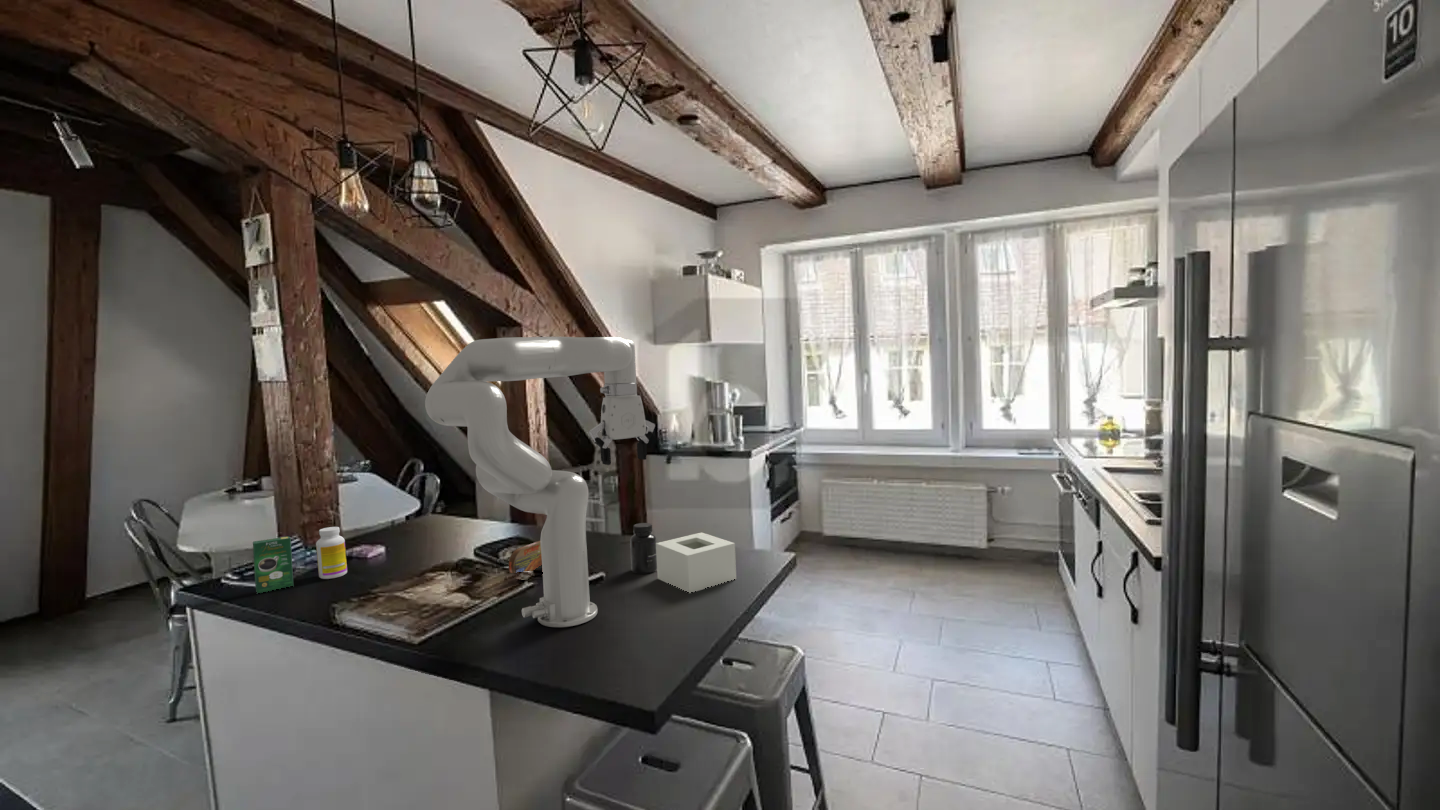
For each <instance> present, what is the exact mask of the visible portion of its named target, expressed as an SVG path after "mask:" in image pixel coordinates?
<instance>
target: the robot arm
mask: <svg viewBox="0 0 1440 810" xmlns="http://www.w3.org/2000/svg"><path fill="white" fill-rule="evenodd" d="M636 367H637V364H636V347H635V342H634V341H633V340H632V339H630V338H624V337H621V336H597V337H595V336H593V337H590V336H589V337H587V336H586V337H584V336H582V337H579V336H577V337H573V336H534V337H533V336H526V337H525V336H522V337H521V336H520V337H498V338H497V337H496V338H483V339H476V340H473V341H472V342H469V344H466V346H464V347H463V349H462V350H460V352H459V353H458V354H457V355H456V356H455V357H454V358H453V359H452V361H451V362H450V363H449V365H448V366H447V367H446V368H445V369H444V370H443V371H442V373H441V374H440V375H439V376H438V377H437V378H436V380H435V381H434V382H433V383H432V385H431V386H430V388H429V390H428V392H427V393H426V395H425V401H424V405H425V406H424V407H425V411H426V414H427V415H428V417H429V418H430V419H431V420H432V421H433V422H435V423H436V424H439V425H440V426H446V427H467V446H468V454H469V456H470V459H471V460H472V462H473V463H474V464H475V475H476V479H477V481H478V483H479V484H480V486H481V487H482V488H483V489H484V490H485V491H486V492H487V493H489V494H491V495H493V496H494V497H496V498H498V499H499V500H502V502H505V503H506V504H508V505H510V506H512V507H514V508H515V509H517V510H520V511H523V512H525V513H531V514H539V515H545V516H546V519H545V522H544V524H543V527H542V529H541V533H540V540H539V541H540V543H541V556H542V572H543V574H542V585H543V589H542V590H543V596H542V597H539V602H537V603H535V605H528V606H525V607H522V608H521V615H522V617H523V618H527V617H531V616H532V618H533V619H537V622H538V623H540V624H541V625H542V626H544V627H549V628H569V627H573V626H579V625H581V624H584V623H587V622H589V621H592V620H593V619H594V618H596V616H597V614H598V606H597V604H595V603H594V602H592V601H590V598H591V597H590V585H589V584H590V581H589V580H590V579H589V565H588V564H589V563H588V549H587V545H588V544H587V530H586V529H587V527H586V524H587V523H586V522H587V521H586V520H587V509H588V503H589V486H588V484H587V481H586V480H585V479H584V478H583V477H582V476H581V475H580V474H577V473H575V472H572V471H567V470H555V469H552V466H551V464H550V462H549V461H548V459H547V458H546V457H545V456H544V455H542V453H540V452H538V451H537V450H535V449H534V448H532V447H531V446H529V445H528V444H526V443H525V442H524V441H522V440H520V439H519V438H517V437H516V436H515V435H514V434H513V433H512V432H511V431H510V430H509V426H508V417H507V416H508V413H507V410H508V408H507V400H506V398H505V395H504V393H503V392H502V390H501V389H500V388H499V387H498V386H497V385H496V384H494V383H492V382H514V381H526V380H536V379H545V378H546V379H548V378H549V379H550V378H559V377H561V378H562V377H563V378H564V377H570V376H576V375H583V374H592V373H604V376H603V377H604V378H603V379H604V385H603V387H602V386H601V387H600V389H599V391H600V393H601V394H604V396H605V397H602V403H601V409H600V410H601V411H600V413H601V414H600V415H601V416H600V422H599V424H597V425H595V426H593V427H592V428H591V429H589V431H588V434H589V436H590V437H591V439H592V441H593V442H594V444H596V445H597V447H598V448H599V449H600V461H601V463H602V465H605V466H611V464H612V460H611V459H612V456H611V455H612V454H611V448H610V447H609V446H610V445H611V442H612V441H613V440H616V441H617V440H624V439H632V438H636V440H637V441H638V442H637V443H636V452H637V453H636V454H637V458H638V460H642V461H645V460H647V455H648V449H647V448H648V446H647V444H648V443H649V441H650V439H651V437H652V436H653V432H654V431H655V430H654V429H655V427H656V423H653V422H651V421H649V420H647V419H646V415H645V409H644V405H643V401H642V397H641V395H638V388H637V387H638V386H637V370H636V369H637V368H636ZM599 432H601V436H602V437H599Z"/></svg>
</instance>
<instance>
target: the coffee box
mask: <svg viewBox="0 0 1440 810" xmlns="http://www.w3.org/2000/svg"><path fill="white" fill-rule="evenodd" d="M252 549H253V550H252V553H253V554H252V555H253V566H254V567H253V568H254V569H253V570H254V583H255V585H254V586H255V592H257V593H256V594H257V595H259V594H258V593H260V594H264V593H263V592H266V593H269V592H273V591H272V590H274V591H277V590H276V589H279V590H282V589H281V588H285V589H287V588H286V587H289V588H291V587H290V586H293V587H295V585H294V574H293V573H294V572H293V557H292V556H293V555H292V539H291V536H289V535H288V536H281V537H274V538H267V539H261V540H254V541H253V542H252ZM268 591H269V592H268Z"/></svg>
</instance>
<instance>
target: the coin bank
mask: <svg viewBox="0 0 1440 810" xmlns="http://www.w3.org/2000/svg"><path fill="white" fill-rule="evenodd" d="M656 556H657V570H656V571H657V572H656V573H657V580H659V581H661V582H664V583H666V584H668V583H669V584H668V585H670V584H671V586H672V585H673V586H672V587H674V586H676V587H675V588H677V587H678V588H677V589H679V588H680V589H679V590H681V589H682V590H681V591H683V590H684V592H685V591H687V592H689V593H688V594H692V593H691V592H693V593H695V591H696V592H699V591H702V590H705V588H706V589H708V588H707V587H709V588H712V587H715V585H716V586H718V584H719V585H722V584H725V583H728V582H727V581H729V582H732V581H734V579H735V580H737V566H736V565H737V562H736V543H735V542H732V541H730V540H726V539H723V538H720V537H718V536H714V535H711V534H708V533H706V532H705V533H704V532H702V531H701V532H698V533H692V534H689V535H685V536H681V537H676V538H672V539H669V540H664V541H660V542H657V543H656ZM731 580H732V581H731ZM724 582H725V583H724ZM721 583H722V584H721ZM711 586H712V587H711ZM687 592H686V593H687Z"/></svg>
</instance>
